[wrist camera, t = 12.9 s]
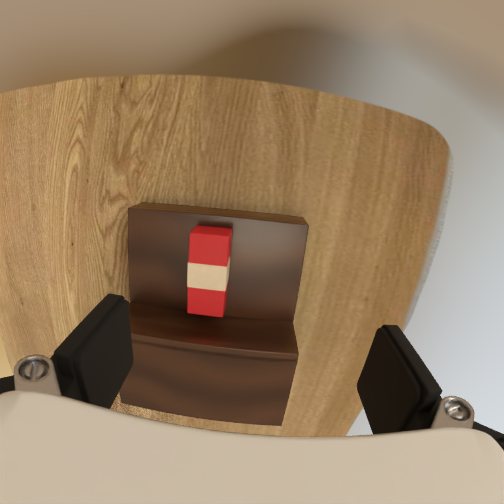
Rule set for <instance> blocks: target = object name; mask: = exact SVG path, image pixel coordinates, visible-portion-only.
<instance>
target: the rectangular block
mask: <svg viewBox="0 0 504 504" xmlns="http://www.w3.org/2000/svg"><path fill="white" fill-rule="evenodd" d="M231 237H232V229H229V228H219V227H209V226H199V225H197V226H196V227H195V228H194V229H193V230H192V231H191V232H190V237H189V261H188V269H187V287H188V297H187V313H191V314H198V315H206V316H215V317H223V315H224V311H225V306H226V299H227V286H228V279H229V268H230V249H231Z"/></svg>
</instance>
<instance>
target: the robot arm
mask: <svg viewBox="0 0 504 504" xmlns="http://www.w3.org/2000/svg"><path fill="white" fill-rule="evenodd" d="M133 360H134V358H133V348H132V339H131V328H130V315H129V303H128V301H127V300H125V299H124V297H123V296H121V295H115V294H107V296H106V297H105V298H104V299H103V300H102V301H101V302H100V303H99V304H98V305H97V306H96V307H95V308H94V309H93V310H92V311H91V312H90V313H89V314H88V315H87V316H86V317H85V318H84V320H83V321H82V322H81V323H80V324H79V325H78V326H77V327H76V328H75V329H74V330H73V331H72V332H71V334H70V335H69V336H68V337H67V338H66V339H65V340H64V341H63V342H62V343H61V345H60V346H59V347H58V348H57V349H56V350H55V351H54V354H53V355H52V357H51V358H50V359H49V358H48V357H46V356H44V355H38V354H37V355H29V356H26V357H24V358H22V359H21V360H19V361H18V362H17V364H16V365H15V367H14V375H13V376H9V377H4V378H0V504H504V434H502V433H500V432H497V431H495V430H492V429H490V428H488V427H486V426H484V425H481V424H479V423H477V422H474V410H473V408H472V406H471V405H470V404H469V403H468V402H467V401H466V400H464V399H462V398H459V397H456V396H448V397H445V398H443V399H442V398H441V396H440V394H441V393H442V389H441V388H440V387H439V385H438V383H437V382H436V380H435V379H434V377H433V376H432V374H431V373H430V371H429V370H428V368H427V367H426V365H425V364H424V362H423V361H422V359H421V358H420V356H419V355H418V354H417V352H416V351H415V349H414V348H413V346H412V345H411V344H410V342H409V341H408V339H407V338H406V336H405V335H404V334H403V332H402V331H401V329H400V328H399V327H398V326H397V325H383V326H382V327H381V328H379V329H377V331H376V334H375V337H374V340H373V343H372V345H371V348H370V351H369V354H368V357H367V359H366V362H365V365H364V367H363V370H362V372H361V375H360V377H359V380H358V383H357V390H358V393H359V396H360V399H361V401H362V404H363V407H364V410H365V413H366V416H367V418H368V421H369V424H370V427H371V430H372V432H373V435H358V436H332V437H301V436H273V435H258V434H245V433H235V432H226V431H218V430H210V429H203V428H196V427H190V426H184V425H178V424H172V423H167V422H162V421H157V420H152V419H148V418H143V417H139V416H135V415H131V414H127V413H123V412H119V411H115V410H111V409H110V408H111V406H112V404H113V402H114V400H115V398H116V396H117V394H118V392H119V390H120V389H121V387H122V385H123V383H124V381H125V379H126V377H127V375H128V374H129V372H130V370H131V368H132V366H133Z"/></svg>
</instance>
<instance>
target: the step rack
mask: <svg viewBox="0 0 504 504" xmlns="http://www.w3.org/2000/svg"><path fill="white" fill-rule="evenodd" d="M197 225H199V226H209V227H219V228H229V229H232V237H231V249H230V268H229V279H228V286H227V299H226V306H225V311H224V315H223V317H215V316H206V315H198V314H191V313H187V297H188V287H187V269H188V261H189V237H190V232H191V231H192V230H193V229H194V228H195V227H196V226H197ZM308 227H309V225H308V224H307V222H306V221H305V219H304V218H303V217H295V216H286V215H277V214H268V213H259V212H249V211H239V210H229V209H219V208H208V207H196V206H184V205H172V204H159V203H145V202H142V203H139V204H137V205H134V206H132V207H130V208H128V261H129V285H130V303H129V315H130V328H131V339H132V348H133V358H134V360H133V366H132V368H131V370H130V372H129V374H128V375H127V377H126V379H125V381H124V383H123V385H122V387H121V389H120V390H119V393H120V397H121V402H122V403H125V404H129V405H133V406H137V407H142V408H146V409H151V410H156V411H161V412H166V413H171V414H177V415H182V416H188V417H195V418H202V419H209V420H216V421H225V422H234V423H245V424H257V425H273V426H282V422H283V418H284V414H285V410H286V406H287V403H288V399H289V394H290V390H291V386H292V382H293V378H294V374H295V369H296V365H297V360H298V355H299V353H298V347H297V342H296V336H295V331H294V325H293V319H294V314H295V308H296V302H297V297H298V291H299V285H300V279H301V273H302V267H303V260H304V254H305V247H306V241H307V234H308Z"/></svg>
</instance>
